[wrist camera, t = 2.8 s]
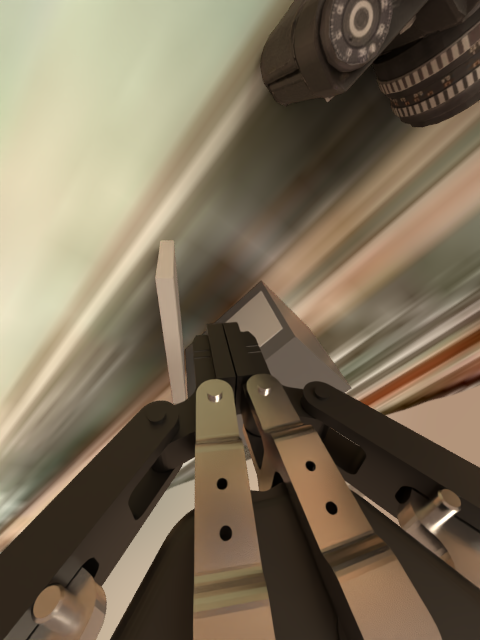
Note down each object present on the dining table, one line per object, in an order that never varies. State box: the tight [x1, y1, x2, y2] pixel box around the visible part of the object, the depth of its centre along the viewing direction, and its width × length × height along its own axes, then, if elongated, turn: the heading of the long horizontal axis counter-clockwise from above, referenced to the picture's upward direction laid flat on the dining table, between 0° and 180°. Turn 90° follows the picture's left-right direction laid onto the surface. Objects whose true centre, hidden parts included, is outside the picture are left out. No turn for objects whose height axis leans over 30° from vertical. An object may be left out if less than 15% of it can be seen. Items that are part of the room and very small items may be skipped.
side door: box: [155, 240, 186, 405], centre depth 21 cm, size 1×12×8 cm, turn 178°
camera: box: [261, 0, 480, 127], centre depth 13 cm, size 14×11×10 cm
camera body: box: [185, 281, 351, 447], centre depth 26 cm, size 9×13×10 cm
